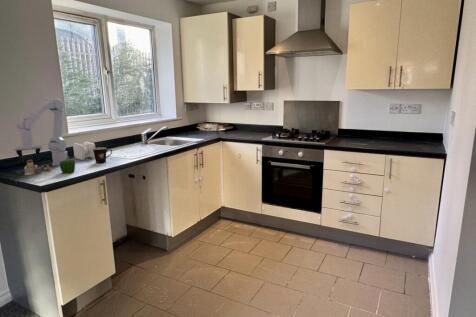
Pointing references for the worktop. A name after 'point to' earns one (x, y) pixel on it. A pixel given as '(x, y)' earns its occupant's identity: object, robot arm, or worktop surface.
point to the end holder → (30, 169)
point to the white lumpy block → (83, 150)
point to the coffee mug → (100, 154)
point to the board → (39, 173)
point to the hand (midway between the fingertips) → (30, 161)
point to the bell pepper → (67, 166)
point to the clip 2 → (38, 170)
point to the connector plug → (30, 163)
